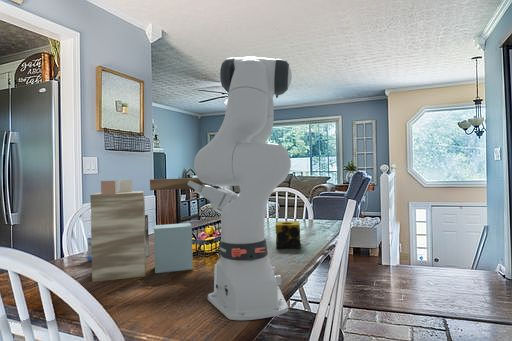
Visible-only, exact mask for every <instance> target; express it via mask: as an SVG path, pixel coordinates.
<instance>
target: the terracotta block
mask: <svg viewBox="0 0 512 341" xmlns="http://www.w3.org/2000/svg"><path fill="white" fill-rule="evenodd" d="M117 182H118V180H101V181H100V193H101V194H116V193H117V192H118V190H117V189H118V184H117Z"/></svg>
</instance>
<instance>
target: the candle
mask: <svg viewBox="0 0 512 341" xmlns="http://www.w3.org/2000/svg"><path fill="white" fill-rule="evenodd" d="M275 234H276V237H275V247H276V248H275V249H278V250H283V249H284V250H291V249H292V250H294V249H295V250H297V249H301V226H300V221H299V220H296V221H295V220H294V221H290V220H288V221H276V222H275Z"/></svg>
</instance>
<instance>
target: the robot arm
mask: <svg viewBox="0 0 512 341" xmlns="http://www.w3.org/2000/svg"><path fill="white" fill-rule="evenodd" d="M292 73H293V72H292V70H291V67H290V63H288V61H287V60H284V59H282V58H276V59H275V58H268V57H257V56H244V57H234V56H233V57H228V58H225V59H224V61H223V62H222V63H221V66H220V69H219V80H220V84H221V87H222V88H223V90H225V91H226V92H228V96H227V104H226V109H225V113H224V114H225V115H224V118H223V121H222V124H221V126H220V128H219V130H218V131H217V133H216V134H215V135H214V137H213V138H212V139H211V140H210V142H208V143H207V144H206V145H205V146H203V147H201V148H200V149H199V151H198V152H197V153H196V155H195V158H194V163H193V167H194V172H195V175H196V176H197V177H196V178H199V180H200V181H201V182H203V183H207V184H208V186H207V185H202V186H201V185H199V184H197V183H195V182H193V181H191V180H189V181H188V183H187V185H188V186H190V187H192V189H193V190H194V192H195V193H196V194H198V195H199V196H202V197H203V198H205V199H206V200H207V201H209V202H210V203H209V204H210V206H212V210H213V211H215V212H216V213H218V214H220V225H221V226H220V230H221V231H220V232H221V233H220V236H221V239H220V240H219V255H220V258H219V260H218V261H217V262H216V263H215V264H214V270H213V271H214V275H213V276H214V277H213V280H214V282H213V292H210V293H208V294H207V300H208V301H209V302H210V303H211V304H212V305H213V307H215V308H216V309H218V311H220V313H222V315H224V316H225V317H226V318H227V319H229V320H232V321H233V320H234V321H251V320H261V319H265V318H266V319H267V318H272V317H276V316H279V315H283V314H285V313H287V312H289V306H288V304H287V301H286V299H285V297H284V295H283V293H282V290H281V288H280V286H281V285H282V282H283V281H282V276H281V275H280V274H277V275H276V274H275V273H276V267H275V266H272V262H271V259H270V258H269V257H268V254H269V252H268V244H267V240H266V238H265V219H266V216H267V205H268V201H269V200H270V197H271V195H272V193H273V192H274V191H275V189H276V188H277V187H278V186H279V185H280V184H281V183H283V182H284V181H285V180H286V179H287V177H288V175H289V173H290V172H291V171H290V170H291V166H292V162H291V160H292V159H291V157H290V156H291V155H290V154H289V152H288V150H287V149H286V147H285V146H284V145H282V144H281V143H275V142H267V140H268V139H269V138H270V137H271V135H272V133H273V132H272V131H273V126H274V118H275V117H274V116H275V114H274V112H275V110H274V107H275V106H274V97H273V95H275V98H276V99H278V98H279V96H282V95H283V94H285V93H286V92H287V91H288V90H289V88H290V85H291V83H292V77H293V76H292V75H293V74H292ZM213 186H217V187H218V188H216V187H213ZM228 186H229V187H235V186H237V187H238V189H239V193H236V192H234V191H233V190H232V189H229V188H227V187H228ZM220 187H222V188H220Z"/></svg>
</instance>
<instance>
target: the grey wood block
mask: <svg viewBox="0 0 512 341" xmlns="http://www.w3.org/2000/svg"><path fill="white" fill-rule="evenodd" d="M89 198H90V199H89V200H90V234H91V235H90V237H91V245H92V261H91V278H92V281H91V282H92V283H93V282H94V283H95V282H106V281H113V280H114V281H115V280H124V279H132V278H141V277H143V278H144V277H145V276H146V267H147V257H146V242H145V215H146V210H145V209H146V208H145V206H146V205H145V191H144V190H138V191H137V190H135V191H134V190H132V192H118V191H117V193H116V194H101V192H96V193H91V194H90V195H89Z"/></svg>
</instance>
